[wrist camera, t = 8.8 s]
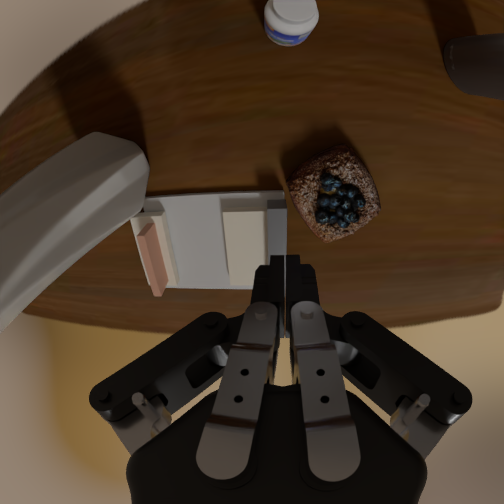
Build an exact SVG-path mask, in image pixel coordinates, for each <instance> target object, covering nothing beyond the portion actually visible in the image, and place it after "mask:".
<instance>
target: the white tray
mask: <svg viewBox="0 0 504 504" xmlns="http://www.w3.org/2000/svg"><path fill="white" fill-rule="evenodd" d="M143 208H144V212H159V211H165V214H166V219H167V224H168V229H169V234H170V239H171V244H172V249H173V253H174V258H175V262H176V266H177V271H178V275H179V279H180V280H179V282H178V285H177V286H168V285H166V287H165V288H202V289H253V284H254V276H255V271H256V269H257V268H258V267H259V266H260V265H270V255H284V268H285V280H286V243H287V205H286V199H284V190H272V191H231V192H208V193H190V194H175V195H162V196H150V197H145V198H144V204H143Z"/></svg>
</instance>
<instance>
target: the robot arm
mask: <svg viewBox="0 0 504 504" xmlns="http://www.w3.org/2000/svg"><path fill="white" fill-rule="evenodd" d="M444 63H445V66H446V70H447V72H448V74H449V76H450V78H451V80H452V81H453V82H454V84H455V85H456V86H457V87H458V88H459V89H460V90H461V91H463V92H465V93H467V94H471V95H478V96H484V97H489V98H494V99H499V100H504V33H498V34H485V35H475V36H466V37H459V38H453V39H451V40H449V41H448V42H447V44H446V45H445V48H444ZM284 312H285V268H284V255H270V265H260V266H259V267H258V268H257V269H256V271H255V276H254V284H253V290H252V297H251V304H250V306H248V307H247V309H246V311H245V313H244V314H242V315H240V316H237V317H233V318H228V319H227V318H226V316H225V315H223V314H222V313H219V312H208V313H205V314H203V315H201V316H200V317H198V318H197V319H195V320H194V321H192V322H191V323H190V324H188V325H187V326H185V327H184V328H182V329H181V330H179V331H178V332H176V333H175V334H173V335H172V336H170V337H169V338H167V339H166V340H165V341H163V342H161V343H160V344H158V345H157V346H155V347H154V348H153V349H151V350H149V351H148V352H146V353H145V354H143V355H142V356H140V357H139V358H137V359H136V360H134V361H133V362H131V363H129V364H128V365H126V366H125V367H124V368H122V369H120V370H119V371H117V372H116V373H114V374H112V375H111V376H109V377H108V378H106V379H105V380H103V381H102V382H100V383H98V384H97V385H95V386H94V387H93V389H92V390H91V392H90V395H89V402H90V404H91V406H92V407H93V408H94V409H95V410H96V411H97V412H98V413H99V414H100V415H101V417H102V418H103V419H104V420H106V421H107V422H108V423H109V424H110V425H111V426H112V428H113V429H114V431H115V432H116V434H117V436H118V437H119V438H120V440H121V442H122V443H123V444H124V446H125V447H126V449H127V450H128V452H129V453H130V454H131V457H130V459H129V461H128V464H127V469H126V477H127V482H128V485H129V488H130V493H131V500H132V504H418V501H419V498H420V496H421V493H422V491H423V489H424V486H425V483H426V480H427V466H426V463H425V458H426V457H427V456H428V455H429V454H430V452H431V451H432V450H433V448H434V447H435V446H436V444H437V443H438V442H439V440H440V439H441V438H442V436H443V435H444V434H445V432H446V431H447V429H448V428H449V427H450V426H452V424H454V423H455V422H456V421H457V420H458V419H459V418H461V417H462V416H463V415H464V414H465V413H466V412H467V411H468V410H469V409H470V407H471V405H472V394H471V392H470V390H469V389H468V388H467V387H466V386H465V385H463V384H462V383H461V382H459V381H458V380H457V379H455V378H454V377H453V376H451V375H450V374H449V373H447V372H445V371H444V370H443V369H442V368H440V367H439V366H438V365H436V364H435V363H433V362H432V361H431V360H429V359H428V358H427V357H425V356H424V355H423V354H421V353H420V352H418V351H417V350H416V349H414V348H413V347H411V346H410V345H409V344H407V343H406V342H405V341H403V340H402V339H400V338H399V337H397V336H396V335H395V334H393V333H392V332H391V331H389V330H388V329H386V328H385V327H384V326H382V325H381V324H379V323H378V322H377V321H375V320H374V319H372V318H371V317H369V316H368V315H367V314H365V313H362V312H358V311H353V312H349V313H347V314H345V315H344V316H343V317H342V318H341V317H336V316H332V315H329V314H328V313H326V312H325V311H323V309H322V308H321V306H320V302H319V295H318V288H317V281H316V275H315V270H314V269H313V267H312V266H311V265H310V264H300V255H286V338H290V362H291V373H292V385H289V386H283V387H281V386H277V385H274V378H275V371H276V364H277V356H278V348H279V345H280V338H284ZM342 375H343V376H344V377H345V378H347V379H348V380H349V381H350V382H351V383H352V384H353V385H355V386H356V387H357V388H358V389H359V390H360V391H362V392H363V393H364V394H365V395H366V396H367V397H369V398H370V399H371V400H372V401H373V402H374V403H376V404H377V405H378V406H379V407H380V408H382V409H383V410H384V411H385V412H386V413H387V414H389V415H390V416H391V418H390V426H391V427H390V426H389V425H388V424H387V423H386V422H385V421H384V420H382V419H381V418H380V417H379V416H378V415H377V414H376V413H375V412H374V411H373V410H372V409H371V408H370V407H368V406H367V405H366V404H365V403H364V402H363V401H362V400H361V399H360V398H359V397H357V396H356V395H355V394H353V393H351V392H350V391H347V390H345V385H344V380H343V376H342ZM220 377H222V380H221V383H220V386H219V389H218V390H216V391H214V392H212V393H210V394H209V395H207V396H205V397H204V398H203V399H202V400H201V401H199V402H198V403H197V404H196V405H194V406H193V407H192V408H191V409H190V410H188V411H187V412H186V413H185V414H183V415H182V416H181V417H180V418H178V419H177V420H176V421H174V422H173V423H172V424H171V420H172V418H171V415H172V414H173V413H175V412H176V411H177V410H179V409H180V408H181V407H183V406H184V405H186V404H187V403H188V402H190V401H191V400H192V399H193V398H195V397H196V396H197V395H199V394H200V393H201V392H203V391H204V390H205V389H206V388H208V387H209V386H210V385H212V384H213V383H214V382H215V381H217V380H218V379H219V378H220ZM170 424H171V425H170Z"/></svg>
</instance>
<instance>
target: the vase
mask: <svg viewBox="0 0 504 504" xmlns="http://www.w3.org/2000/svg"><path fill="white" fill-rule="evenodd" d="M149 171H150V166H149V164H148V161H147V159H146V157H145V155H144V152H143V151H142V150H141V148H140V147H139V146H138V145H137V144H136V143H135V142H133V141H130V140H126V139H123V138H119V137H116V136H112V135H108V134H105V133H101V132H92V133H90V134H88V135H86V136H84V137H82V138H81V139H79V140H77V141H76V142H74V143H72V144H70V145H69V146H67V147H65V148H64V149H62V150H61V151H59V152H57V153H56V154H54V155H53V156H51V157H50V158H48V159H47V160H45V161H44V162H42V163H41V164H39V165H38V166H37V167H35V168H34V169H32V170H31V171H30V172H28V173H27V174H26V175H24V176H23V177H22V178H20V179H19V180H18V181H16V182H15V183H14V184H13V185H11V186H10V187H9V188H8V189H6V190H5V191H4V192H3V193H2V194H0V333H1V332H2V331H3V330H4V329H5V328H6V327H7V326H8V325H9V324H10V323H11V322H12V321H13V320H14V318H16V316H17V315H18V314H19V313H20V312H21V311H22V310H23V309H24V308H25V307H26V306H27V305H29V304H30V303H31V302H32V301H33V300H34V299H35V298H36V297H37V296H38V295H39V294H40V293H41V292H42V291H43V290H44V289H45V288H46V287H47V286H49V285H50V284H51V283H52V282H53V281H54V280H55V279H56V278H57V277H59V276H60V275H61V274H62V273H63V272H64V271H65V270H67V269H68V268H69V267H70V266H71V265H72V264H74V263H75V262H76V261H77V260H78V259H80V258H81V257H82V256H83V255H84V254H86V253H87V252H88V251H89V250H90V249H92V248H93V247H94V246H95V245H97V244H98V243H99V242H101V241H102V240H103V239H104V238H106V237H107V236H108V235H110V234H111V233H112V232H113V231H115V230H116V229H117V228H119V227H120V226H121V225H123V224H124V223H125V222H127V221H128V220H130V219H131V218H132V217H134V216H135V215H136V214H137V213H139V212H140V211H141V209H142V208H143V204H144V198H145V193H146V188H147V183H148V177H149Z"/></svg>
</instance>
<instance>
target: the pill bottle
mask: <svg viewBox="0 0 504 504" xmlns="http://www.w3.org/2000/svg"><path fill="white" fill-rule="evenodd" d="M318 18H319V13H318V9H317V5H316V2H315V0H269V1H268V2H267V4H266V6H265V10H264V27H265V32H266V34H267V36H268V37H269V38H270V39H271V40H272V41H273V42H275V43H277V44H279V45H283V46H294V45H297V44H300V43H301V42H303V41H304V40H305V39H306V38H307V37H308V36H309V34H310V33H311V31H312V30H313V29H314V27H315V25H316V24H317V22H318Z"/></svg>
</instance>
